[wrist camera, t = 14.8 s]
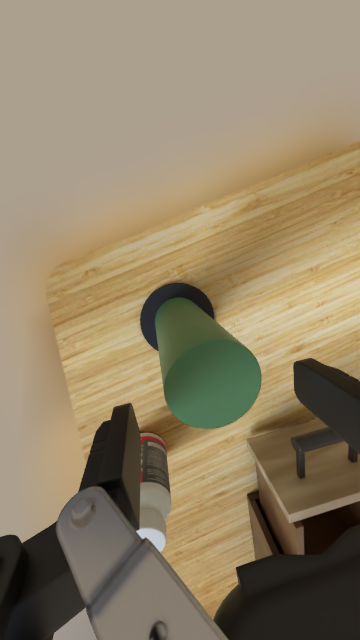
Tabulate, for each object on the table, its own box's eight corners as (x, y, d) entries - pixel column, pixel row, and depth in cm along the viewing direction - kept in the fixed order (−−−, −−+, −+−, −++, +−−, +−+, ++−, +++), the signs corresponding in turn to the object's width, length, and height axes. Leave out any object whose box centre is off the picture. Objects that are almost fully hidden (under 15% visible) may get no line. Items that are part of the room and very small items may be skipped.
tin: (160, 346, 24) (174, 440, 11) (150, 302, 22) (153, 353, 10) (204, 336, 24) (265, 415, 12) (197, 292, 23) (257, 329, 10)
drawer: (242, 407, 27) (286, 474, 18) (334, 382, 28) (416, 435, 19) (256, 521, 32) (294, 612, 24) (332, 497, 34) (394, 576, 25)
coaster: (149, 361, 24) (149, 363, 24) (132, 291, 22) (132, 292, 22) (217, 345, 25) (218, 346, 25) (207, 276, 23) (208, 276, 22)
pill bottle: (136, 424, 26) (130, 514, 17) (173, 439, 28) (187, 530, 18) (114, 457, 27) (97, 561, 18) (152, 470, 28) (154, 573, 19)
